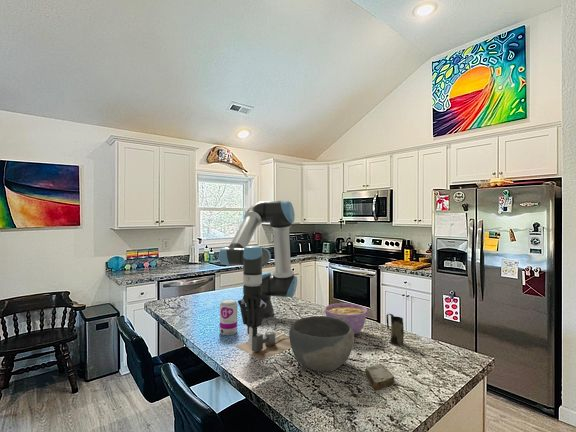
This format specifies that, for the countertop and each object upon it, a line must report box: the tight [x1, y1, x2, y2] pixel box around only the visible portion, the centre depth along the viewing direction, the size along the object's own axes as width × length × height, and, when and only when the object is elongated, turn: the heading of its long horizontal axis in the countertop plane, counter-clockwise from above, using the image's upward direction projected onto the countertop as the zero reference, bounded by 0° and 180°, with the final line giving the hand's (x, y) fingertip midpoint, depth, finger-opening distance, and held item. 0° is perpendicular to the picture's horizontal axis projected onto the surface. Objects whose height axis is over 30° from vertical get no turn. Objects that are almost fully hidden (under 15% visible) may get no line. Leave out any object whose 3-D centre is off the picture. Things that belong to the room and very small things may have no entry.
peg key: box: [252, 331, 286, 352], centre depth 140 cm, size 21×4×6 cm, turn 146°
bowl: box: [288, 315, 355, 373], centre depth 124 cm, size 24×24×15 cm
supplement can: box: [219, 298, 238, 336], centre depth 158 cm, size 8×8×15 cm
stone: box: [364, 363, 395, 392], centre depth 113 cm, size 15×8×3 cm, turn 2°
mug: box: [386, 313, 405, 347], centre depth 145 cm, size 8×6×12 cm
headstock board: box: [234, 331, 292, 360], centre depth 141 cm, size 24×20×2 cm
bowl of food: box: [324, 302, 368, 335], centre depth 157 cm, size 20×20×12 cm
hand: (252, 342), depth 134 cm, fingers closed
